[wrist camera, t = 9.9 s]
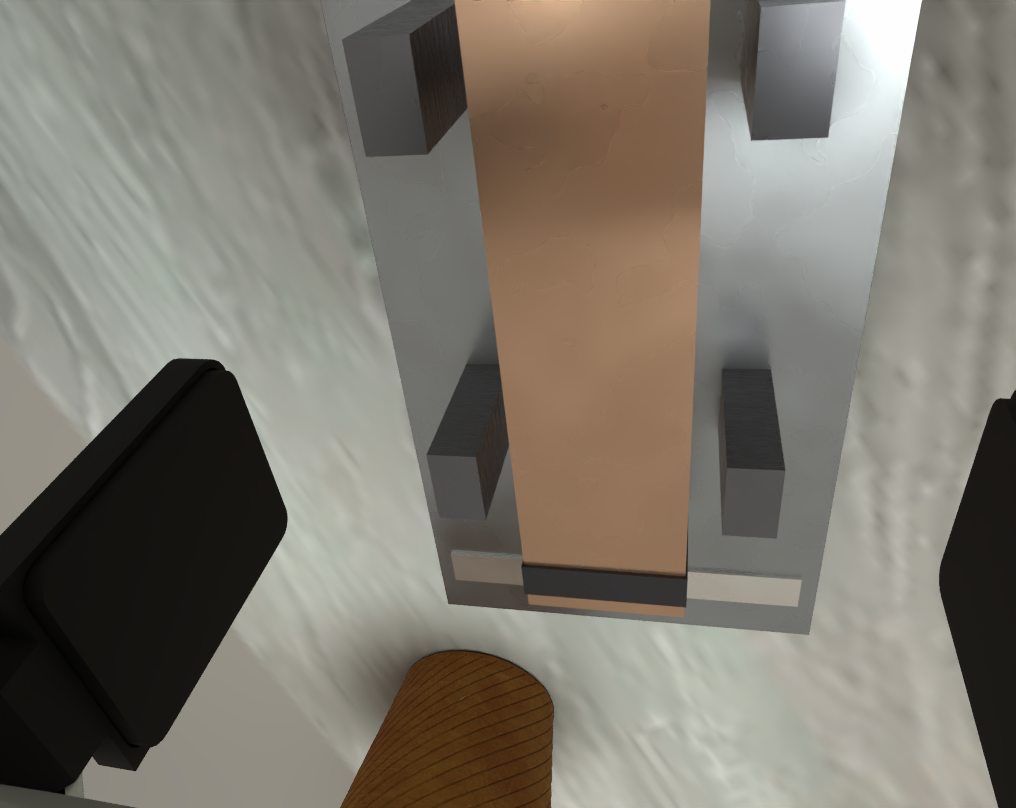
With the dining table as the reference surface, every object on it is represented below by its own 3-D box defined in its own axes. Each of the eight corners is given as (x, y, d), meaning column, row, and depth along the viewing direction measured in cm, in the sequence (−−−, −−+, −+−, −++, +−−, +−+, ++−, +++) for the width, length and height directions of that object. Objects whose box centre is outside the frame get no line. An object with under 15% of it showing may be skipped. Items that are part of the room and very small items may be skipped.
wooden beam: (479, -266, 14) (412, -299, 10) (721, -303, 13) (730, -352, 10) (549, 502, 24) (526, 607, 21) (687, 510, 23) (685, 621, 20)
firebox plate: (280, -292, 15) (128, -339, 11) (978, -415, 12) (1113, -536, 8) (455, 582, 28) (416, 703, 24) (805, 610, 26) (825, 750, 22)
